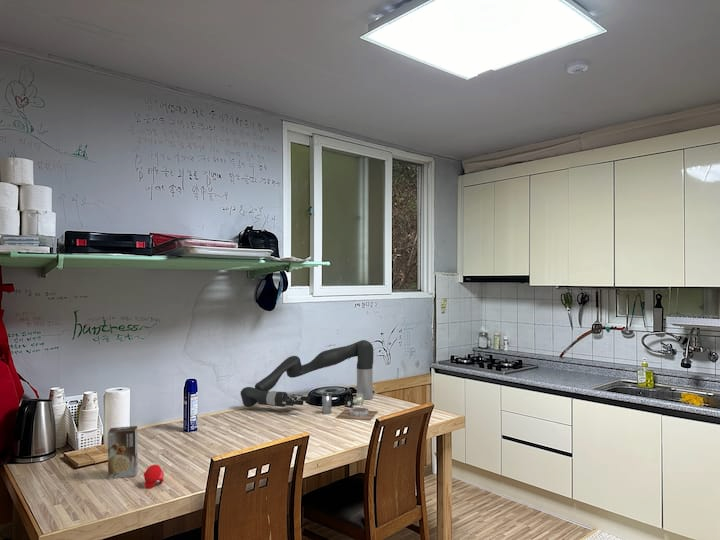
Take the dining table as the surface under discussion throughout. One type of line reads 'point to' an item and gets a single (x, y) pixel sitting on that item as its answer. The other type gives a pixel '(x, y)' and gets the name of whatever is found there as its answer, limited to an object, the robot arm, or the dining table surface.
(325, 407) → the cylinder
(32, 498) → the dining table surface
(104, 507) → the dining table surface
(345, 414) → the board
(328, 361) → the robot arm
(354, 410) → the ring
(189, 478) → the dining table surface
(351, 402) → the valve
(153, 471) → the cap
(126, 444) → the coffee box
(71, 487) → the dining table surface
